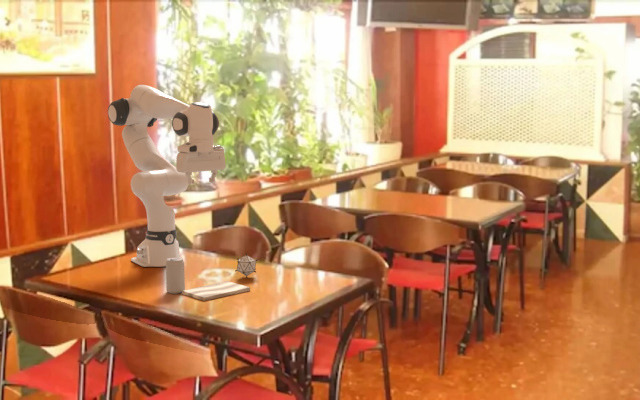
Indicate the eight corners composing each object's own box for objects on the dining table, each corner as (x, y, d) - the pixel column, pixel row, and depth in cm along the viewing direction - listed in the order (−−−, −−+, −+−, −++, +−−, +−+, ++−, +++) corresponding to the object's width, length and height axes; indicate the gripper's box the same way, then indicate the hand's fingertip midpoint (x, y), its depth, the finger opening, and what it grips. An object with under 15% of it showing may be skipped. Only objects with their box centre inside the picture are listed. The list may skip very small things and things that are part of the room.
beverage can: (162, 292, 270) (162, 259, 269) (177, 289, 275) (176, 256, 273) (173, 295, 266) (172, 261, 264) (188, 292, 271) (187, 258, 269)
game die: (254, 281, 286) (253, 255, 285) (232, 280, 288) (232, 254, 286) (260, 276, 295) (260, 250, 293) (239, 275, 296) (239, 249, 295)
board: (182, 293, 268) (182, 290, 268) (227, 284, 282) (227, 281, 282) (204, 301, 259) (204, 297, 258) (250, 290, 273) (250, 287, 272)
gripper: (218, 144, 294) (219, 180, 296) (173, 147, 280) (174, 184, 282) (228, 145, 290) (229, 181, 292) (183, 148, 276) (183, 186, 277)
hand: (201, 183), depth 287 cm, fingers open, 8 cm apart
